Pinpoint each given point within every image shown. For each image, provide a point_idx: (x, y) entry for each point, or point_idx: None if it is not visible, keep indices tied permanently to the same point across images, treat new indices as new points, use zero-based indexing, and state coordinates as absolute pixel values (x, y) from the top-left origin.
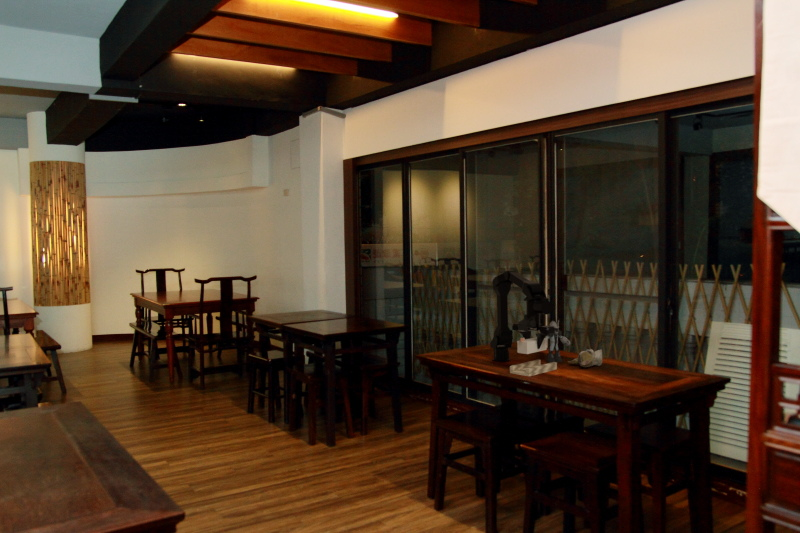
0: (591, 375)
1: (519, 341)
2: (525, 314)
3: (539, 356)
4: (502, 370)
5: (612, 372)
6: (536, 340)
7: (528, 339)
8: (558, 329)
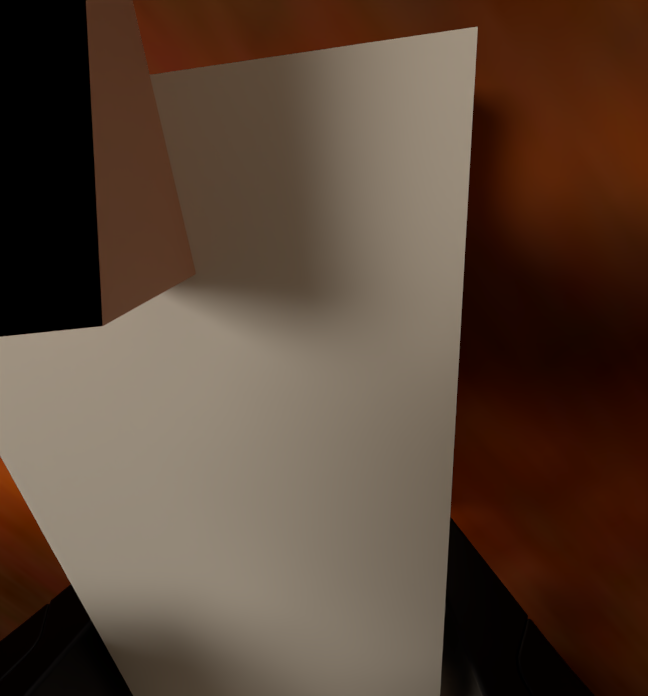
0: (7, 488)
1: (311, 60)
2: None
3: (600, 687)
4: (594, 133)
5: (31, 595)
6: (103, 633)
7: (353, 628)
8: None
